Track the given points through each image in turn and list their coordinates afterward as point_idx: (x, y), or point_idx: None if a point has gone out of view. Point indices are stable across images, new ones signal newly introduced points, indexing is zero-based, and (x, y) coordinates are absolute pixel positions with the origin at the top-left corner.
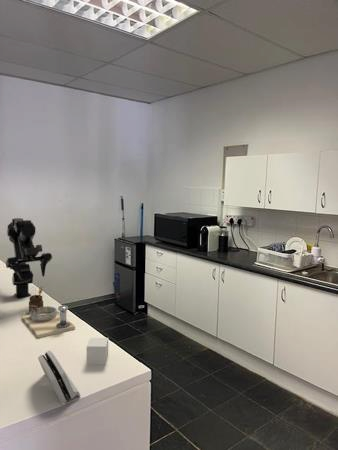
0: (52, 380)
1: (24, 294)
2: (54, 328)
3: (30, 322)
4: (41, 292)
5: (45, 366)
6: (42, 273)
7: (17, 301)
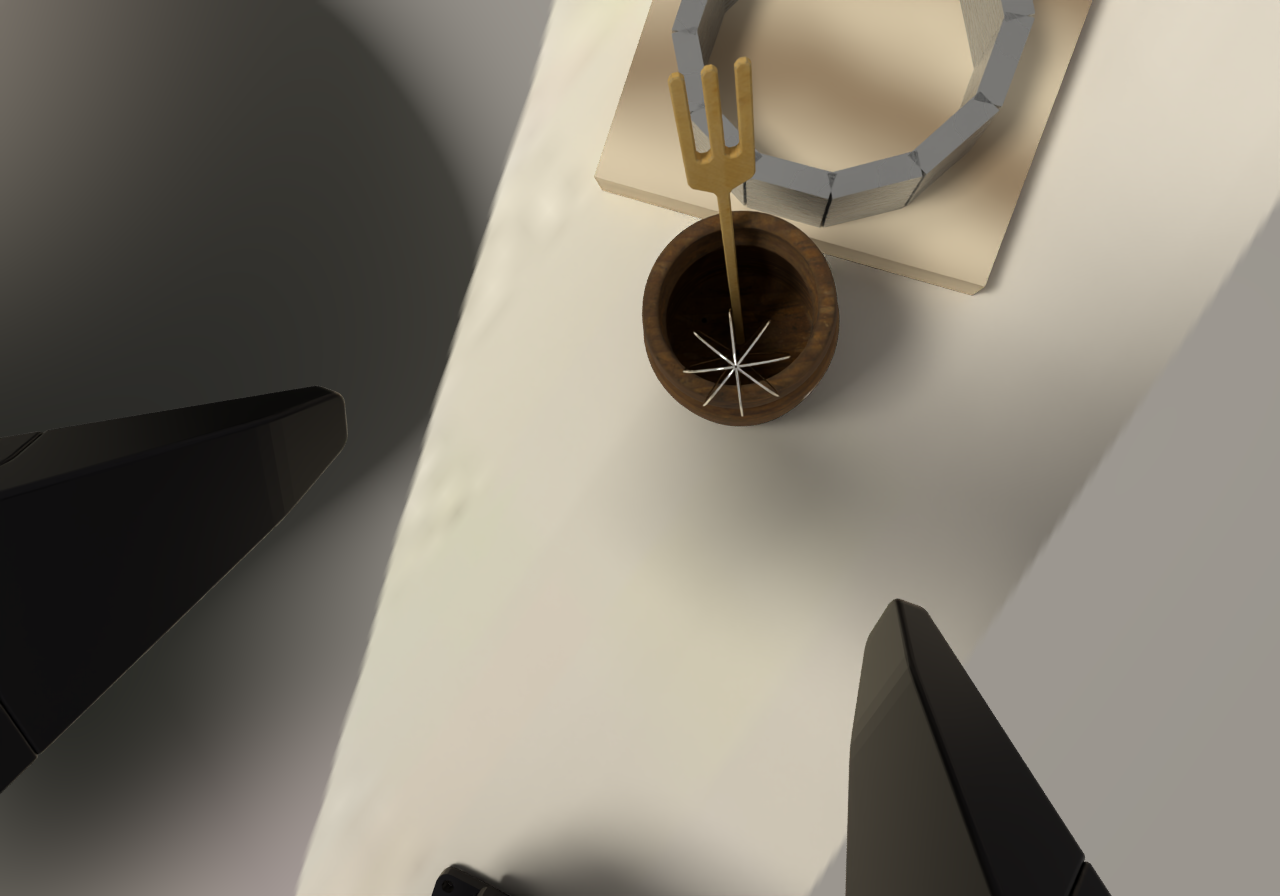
0: None
1: None
2: None
3: (1049, 18)
4: (694, 170)
5: None
6: (278, 467)
7: (654, 841)
